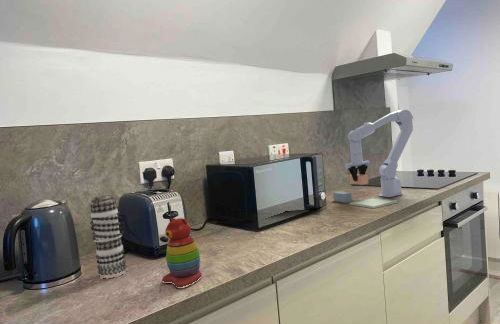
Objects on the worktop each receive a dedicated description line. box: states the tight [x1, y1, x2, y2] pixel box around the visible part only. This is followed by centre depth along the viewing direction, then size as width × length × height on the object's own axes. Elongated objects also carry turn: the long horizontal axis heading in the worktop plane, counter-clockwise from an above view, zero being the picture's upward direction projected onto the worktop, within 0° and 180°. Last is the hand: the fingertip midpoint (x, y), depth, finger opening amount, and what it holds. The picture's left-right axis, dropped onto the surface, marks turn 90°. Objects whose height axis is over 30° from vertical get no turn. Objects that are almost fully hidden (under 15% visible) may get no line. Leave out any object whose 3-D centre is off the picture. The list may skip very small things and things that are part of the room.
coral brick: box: [349, 173, 369, 186], centre depth 192 cm, size 4×9×4 cm, turn 26°
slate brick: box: [332, 191, 353, 204], centre depth 191 cm, size 4×9×4 cm, turn 26°
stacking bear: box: [161, 217, 203, 287], centre depth 106 cm, size 11×10×18 cm
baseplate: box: [348, 196, 399, 209], centre depth 177 cm, size 15×16×1 cm
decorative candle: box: [88, 194, 128, 275], centre depth 118 cm, size 9×9×25 cm
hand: (358, 180), depth 192 cm, fingers closed on coral brick, 4 cm apart
